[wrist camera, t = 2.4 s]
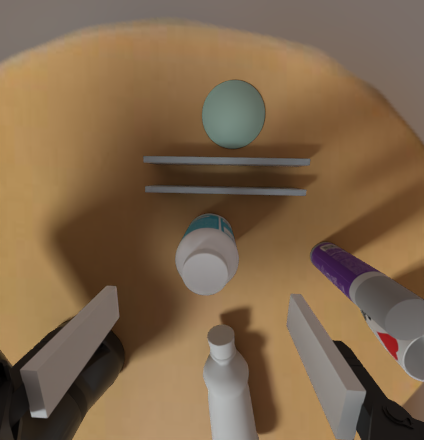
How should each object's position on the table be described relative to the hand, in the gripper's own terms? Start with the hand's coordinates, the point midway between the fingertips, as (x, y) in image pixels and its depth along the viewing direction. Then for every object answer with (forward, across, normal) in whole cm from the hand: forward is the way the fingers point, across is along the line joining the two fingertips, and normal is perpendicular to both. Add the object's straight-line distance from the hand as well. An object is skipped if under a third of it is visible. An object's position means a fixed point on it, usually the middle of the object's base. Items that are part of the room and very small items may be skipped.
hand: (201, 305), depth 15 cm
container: (+18, +19, -3) cm, 26 cm away
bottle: (+18, +5, -31) cm, 36 cm away
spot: (+18, +3, +18) cm, 26 cm away
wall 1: (+18, +2, +12) cm, 22 cm away
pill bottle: (+18, 0, 0) cm, 18 cm away
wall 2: (+18, +2, +8) cm, 20 cm away
